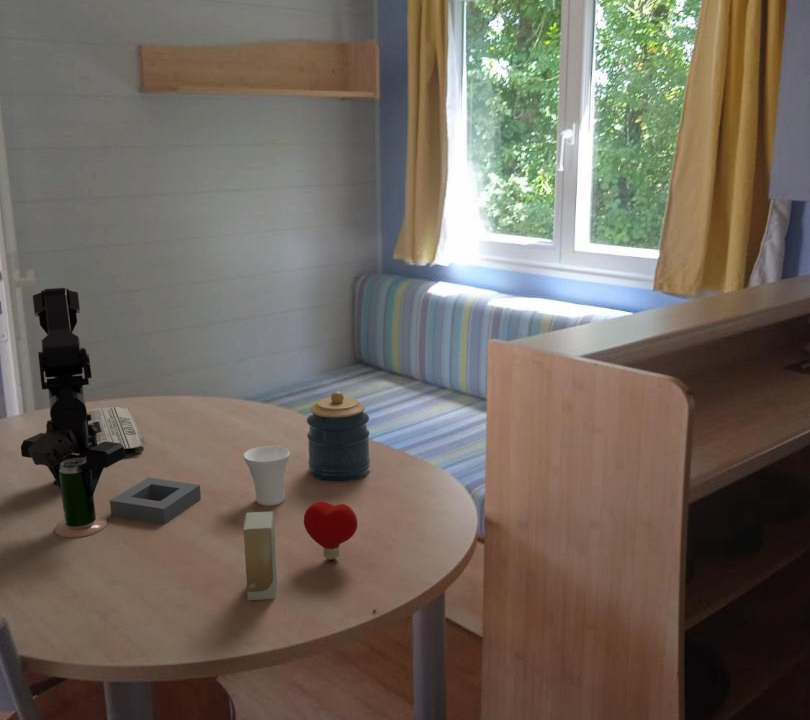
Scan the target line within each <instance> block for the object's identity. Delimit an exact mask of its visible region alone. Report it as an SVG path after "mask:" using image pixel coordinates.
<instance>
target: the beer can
mask: <svg viewBox="0 0 810 720" xmlns="http://www.w3.org/2000/svg"><path fill="white" fill-rule="evenodd" d="M85 460H86V459H85V458H72V459H67V460H65V461H62V462H61V463H60V468H59V476H60V484H61V489H60V493H61V500H62V509H63V518H64V519H63V520H65V524H66V526H67V527H68V528H69V529H73V530H80V529H85V528H88V527H90V526H92V525H93V524H94V522H95V520H96V515H97V514H96V507H95V498H94V495H93V496H91V497H88V496H87V492H86V487H85V479H84V472H83V471H82V470H81V469H80V468H78V466H80V465H82V464H83V463H85Z"/></svg>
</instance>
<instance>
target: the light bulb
mask: <svg viewBox="0 0 810 720" xmlns="http://www.w3.org/2000/svg"><path fill="white" fill-rule="evenodd" d="M303 525H304V528H305V531H306V532H307V534H308V535H309V537H310V538H311V539H312V540H314V542H316V543H317V544H318V545H319V546H321V548H323V557H324V558H325V559H327V560H329V561H335V560H336V559H337V558H339V557H340V556H341V555H340V544H344V543H345V542H347V541H349V540H350V539H351V538H352V537H353V536H354V535H355V533H356V532H357V528H358V518H357V515H356V513H355V512H354V510H353V509H352V508H351V507H350V506H349V505H347V504H344V503H339V504H335V505H334V504H332V503H330V502H327V501H325V500H320V501H315V502H313V503H312V504H311V505H309V506H308V507H307V509H306V511H305V512H304V515H303Z"/></svg>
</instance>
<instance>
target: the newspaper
mask: <svg viewBox="0 0 810 720" xmlns="http://www.w3.org/2000/svg"><path fill="white" fill-rule="evenodd" d="M86 411H87V414H91V420H90V421H88V425H91V424H92V428H93V429H94V430H95V431H96V435H97V445H98V444H100V443H102V442H104V441H107V442H114V443H121V444H122V445H123V446H124V448H125V450H126V449H127V450H128V449H133V451H134V452H135V453H136V454H141V453H142V452H144V451H145V450H144V449H145V448H144V446H143V445H145V444H146V443H147V440H146V439H145V437H144V436H143V434H142V432H141V431H140V428H139V427H138V425H137V423H136V420H135V418H134V416H133V414H132V411H131V409H130V407H127V408H126V407H125V408H124V407H123V408H122V407H118V406H108V407H101V408H100V407H98V408H91V409H88V410H87V409H86ZM89 444H91V443H89Z"/></svg>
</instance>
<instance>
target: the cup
mask: <svg viewBox="0 0 810 720" xmlns="http://www.w3.org/2000/svg"><path fill="white" fill-rule="evenodd" d="M290 456H291V451H290V450H289V449H287V448H286V447H282V446H280V445H279V444H276V445H266V446H265V445H263V446H257V447H253V448H250V449H248V450H246V451H245V452H244V454H243V455H242V457H243V459H244V463H245V464H246V465H247V467H248V469H249V472H250V475H251V477H252V481H253V485H254V486H253V487H254V489H255V499H256V500H255V502H257V503H258V504H259V505H261V506H269V507H270V506H277V505H279V504H281V503H283V502H284V501H285V498H286V497H285V489H284V488H285V486H284V485H285V483H284V482H285V481H284V479H285V473H286V467H287V463H288V461H289V458H290Z"/></svg>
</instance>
